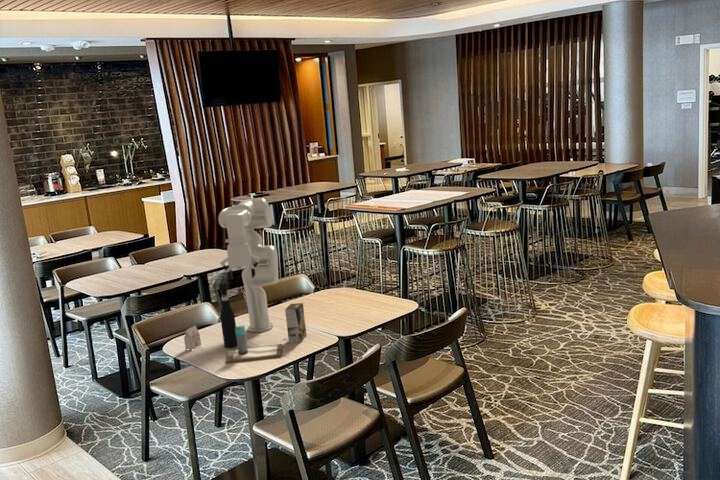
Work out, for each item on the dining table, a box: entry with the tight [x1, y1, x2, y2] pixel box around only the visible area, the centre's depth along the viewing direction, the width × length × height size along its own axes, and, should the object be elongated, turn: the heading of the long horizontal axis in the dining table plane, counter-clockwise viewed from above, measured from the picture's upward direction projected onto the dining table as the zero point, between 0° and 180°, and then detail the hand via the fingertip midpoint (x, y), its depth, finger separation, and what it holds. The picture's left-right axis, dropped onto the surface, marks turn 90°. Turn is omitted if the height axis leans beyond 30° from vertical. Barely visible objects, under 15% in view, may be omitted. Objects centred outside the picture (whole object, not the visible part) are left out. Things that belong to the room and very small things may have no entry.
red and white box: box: [183, 325, 202, 350], centre depth 311 cm, size 4×7×10 cm, turn 155°
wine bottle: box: [218, 282, 238, 349], centre depth 307 cm, size 6×6×30 cm
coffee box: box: [284, 302, 308, 343], centre depth 309 cm, size 9×6×16 cm
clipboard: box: [225, 343, 283, 364], centre depth 296 cm, size 14×24×2 cm, turn 94°
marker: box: [235, 325, 248, 355], centre depth 294 cm, size 4×4×12 cm
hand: (242, 278), depth 297 cm, fingers open, 9 cm apart
